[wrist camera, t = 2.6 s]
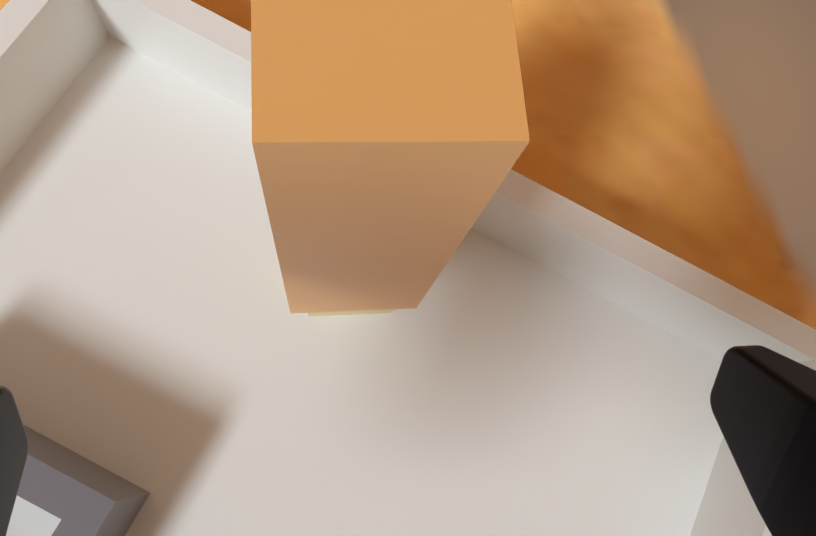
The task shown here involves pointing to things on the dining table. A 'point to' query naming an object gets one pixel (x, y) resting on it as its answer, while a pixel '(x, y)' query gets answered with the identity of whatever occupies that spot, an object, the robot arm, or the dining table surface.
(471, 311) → the walled tray
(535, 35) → the dining table surface
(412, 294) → the tan square peg
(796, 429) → the robot arm
